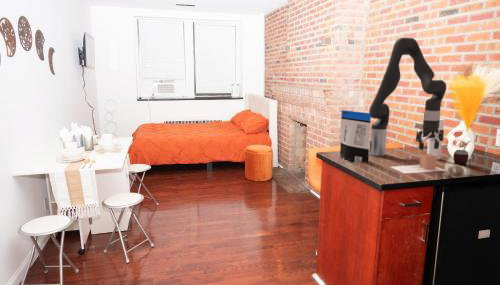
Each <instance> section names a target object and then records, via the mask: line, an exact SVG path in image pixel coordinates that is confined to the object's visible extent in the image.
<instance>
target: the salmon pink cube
mask: <svg viewBox="0 0 500 285" xmlns="http://www.w3.org/2000/svg"><path fill="white" fill-rule="evenodd" d="M437 161H438V159H437V156H435V155H432V154H427V153H423V154H422V153H421V154H420V155H419V163H418V165H419V167H421V168H423V169H426V170H428V169H436V167H437Z"/></svg>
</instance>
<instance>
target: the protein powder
mask: <svg viewBox="0 0 500 285" xmlns="http://www.w3.org/2000/svg"><path fill="white" fill-rule="evenodd" d="M370 115H371V113H369V112H361V111H355V110H354V111H352V110H343V109H341V116H340V117H341V121H340V124H341V125H340V150H339V151H340V153H339V156H340V155H341V156H340V158H341V157H342V158H344V159H345V160H348V161H351V162H350V163H352V162H353V163H363V162H365V163H369V156H370V155H369V149H370V139H371V121H372V120H371V116H370ZM342 158H341V159H342ZM345 160H344V161H345ZM348 161H347V162H348Z"/></svg>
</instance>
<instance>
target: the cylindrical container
mask: <svg viewBox="0 0 500 285" xmlns="http://www.w3.org/2000/svg"><path fill="white" fill-rule="evenodd" d="M444 124H445V119H444V118H440V123H439V128H438V130H439V129H441V130H444ZM437 135H438V133H437ZM434 142H435V140H434V139H433V138H428V139H427V150H426V151H427V152H426V154H432V155H435V156H437V160H441V158H442V157H441V155H442V147H443V146H442V145H443V141H440V142H439V148H438V149H434Z"/></svg>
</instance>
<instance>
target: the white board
mask: <svg viewBox="0 0 500 285" xmlns="http://www.w3.org/2000/svg"><path fill="white" fill-rule="evenodd" d="M390 168H391V169H393V170H396V171H398V172H399V173H402V174H415V173H417V174H418V173H429V172H442V171H443V172H444V171H445V172H446V171H447V170H446V169H443V168H441V167H437V166H436V169H428V170H426V169H423V168H421V167H419V164H413V165H397V166H394V165H393V166H390Z"/></svg>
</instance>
